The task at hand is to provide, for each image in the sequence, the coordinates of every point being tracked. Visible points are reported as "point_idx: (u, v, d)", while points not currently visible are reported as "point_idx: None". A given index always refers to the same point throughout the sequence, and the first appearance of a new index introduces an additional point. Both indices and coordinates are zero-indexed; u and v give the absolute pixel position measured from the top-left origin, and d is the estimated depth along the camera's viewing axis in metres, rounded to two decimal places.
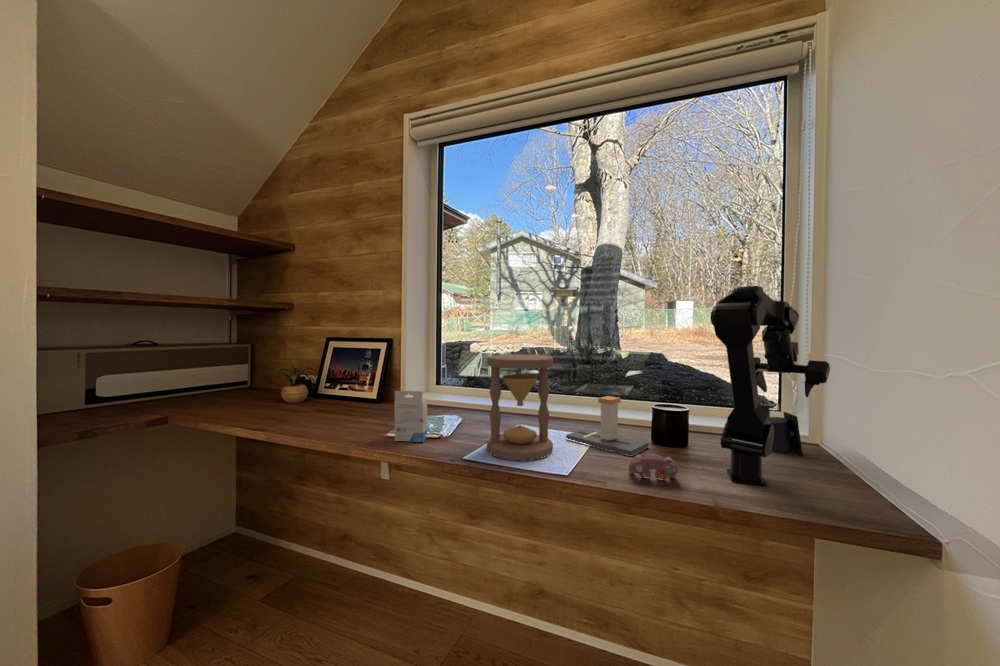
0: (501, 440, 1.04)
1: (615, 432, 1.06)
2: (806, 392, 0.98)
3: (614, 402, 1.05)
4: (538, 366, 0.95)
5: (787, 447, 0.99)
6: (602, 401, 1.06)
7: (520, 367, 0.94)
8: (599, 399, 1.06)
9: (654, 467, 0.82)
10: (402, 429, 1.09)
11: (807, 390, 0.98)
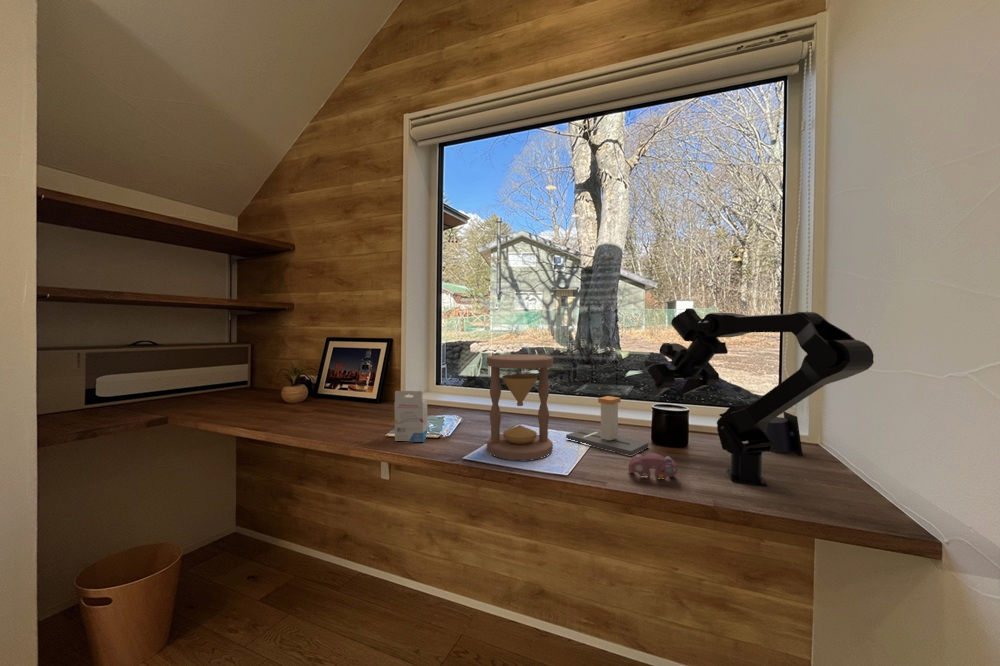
0: (501, 440, 1.04)
1: (615, 432, 1.06)
2: (690, 391, 1.05)
3: (614, 402, 1.05)
4: (538, 366, 0.95)
5: (787, 447, 0.99)
6: (602, 401, 1.06)
7: (520, 367, 0.94)
8: (599, 399, 1.06)
9: (654, 466, 0.82)
10: (402, 429, 1.09)
11: (692, 390, 1.04)
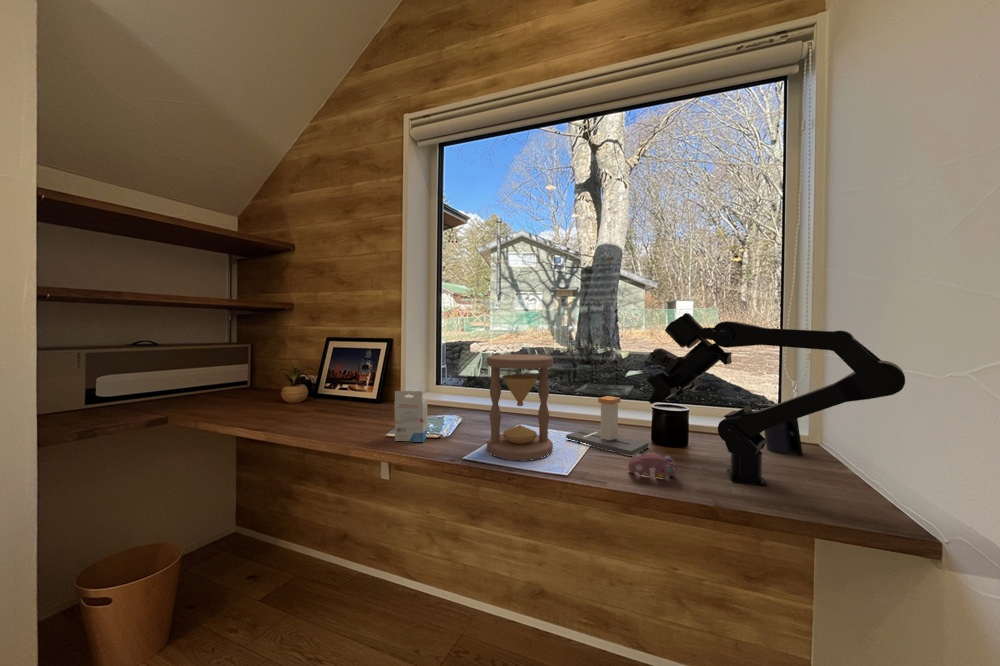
0: (501, 440, 1.04)
1: (615, 432, 1.06)
2: None
3: (614, 402, 1.05)
4: (538, 366, 0.95)
5: (787, 447, 0.99)
6: (602, 401, 1.06)
7: (520, 367, 0.94)
8: (599, 399, 1.06)
9: (653, 466, 0.83)
10: (402, 429, 1.09)
11: None
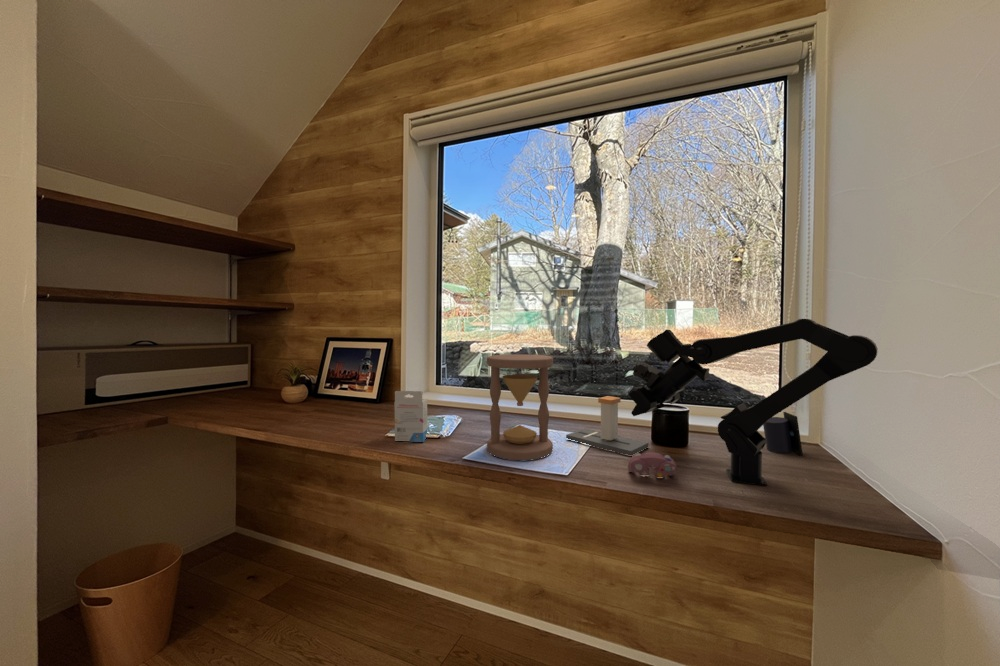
0: (501, 440, 1.04)
1: (615, 432, 1.06)
2: None
3: (614, 402, 1.05)
4: (538, 366, 0.95)
5: (787, 447, 0.99)
6: (602, 401, 1.06)
7: (520, 367, 0.94)
8: (599, 399, 1.06)
9: (653, 465, 0.83)
10: (402, 429, 1.09)
11: None
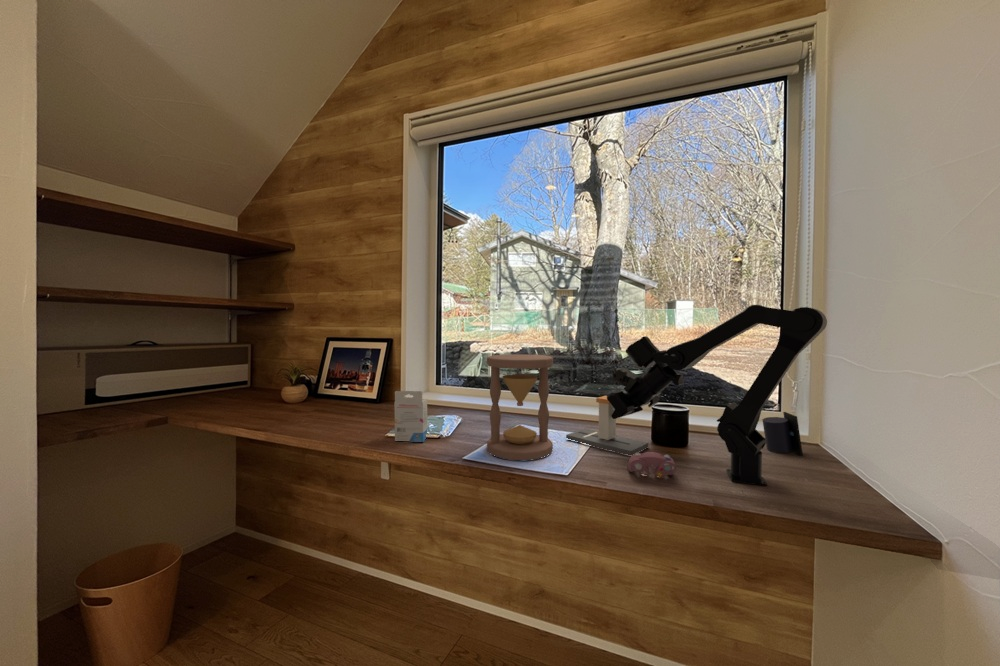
0: (501, 440, 1.04)
1: (613, 432, 1.07)
2: None
3: None
4: (538, 366, 0.95)
5: (787, 447, 0.99)
6: (600, 401, 1.06)
7: (520, 367, 0.94)
8: (597, 399, 1.07)
9: (653, 465, 0.83)
10: (402, 429, 1.09)
11: None
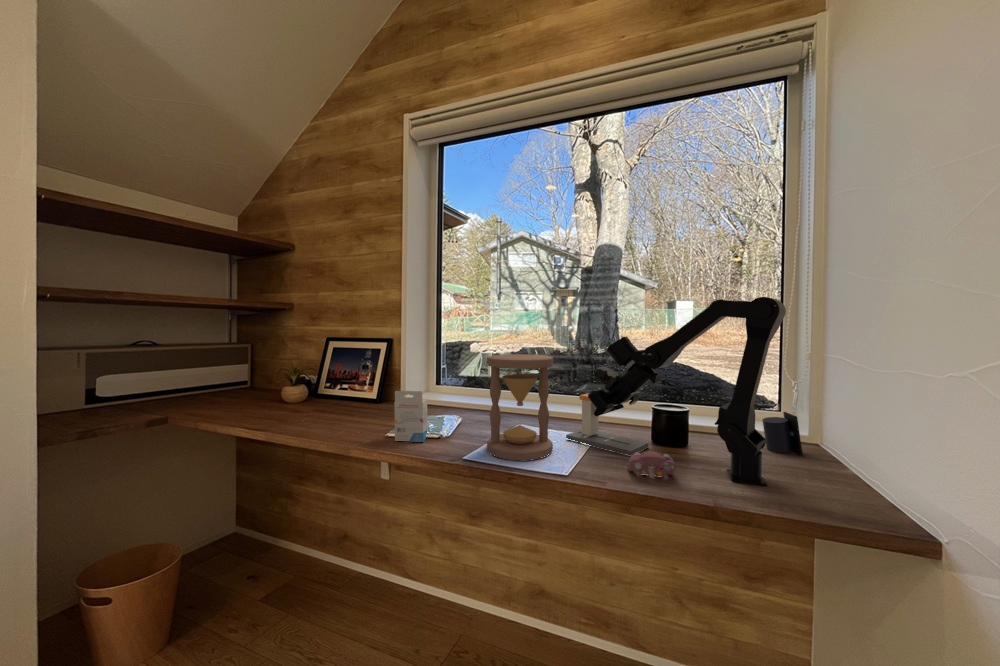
0: (501, 440, 1.04)
1: (596, 428, 1.11)
2: None
3: None
4: (538, 366, 0.95)
5: (787, 447, 0.99)
6: (583, 398, 1.10)
7: (520, 367, 0.94)
8: (580, 396, 1.11)
9: (652, 464, 0.83)
10: (402, 429, 1.09)
11: None
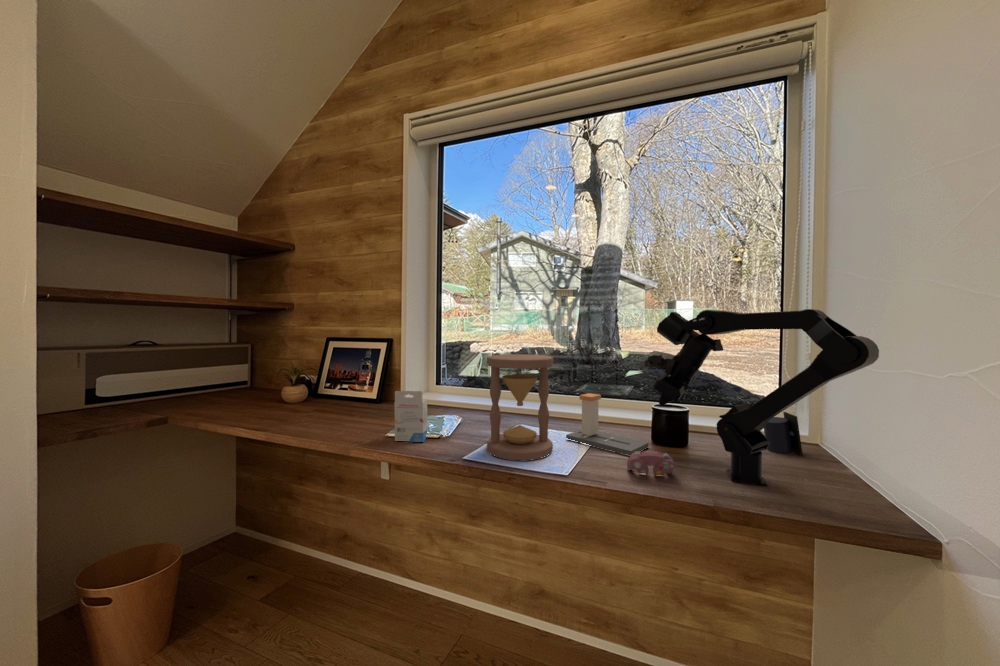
0: (501, 440, 1.04)
1: (596, 428, 1.11)
2: None
3: (594, 399, 1.09)
4: (538, 366, 0.95)
5: (787, 447, 0.99)
6: (583, 398, 1.10)
7: (520, 367, 0.94)
8: (580, 396, 1.11)
9: (652, 463, 0.84)
10: (402, 429, 1.09)
11: None
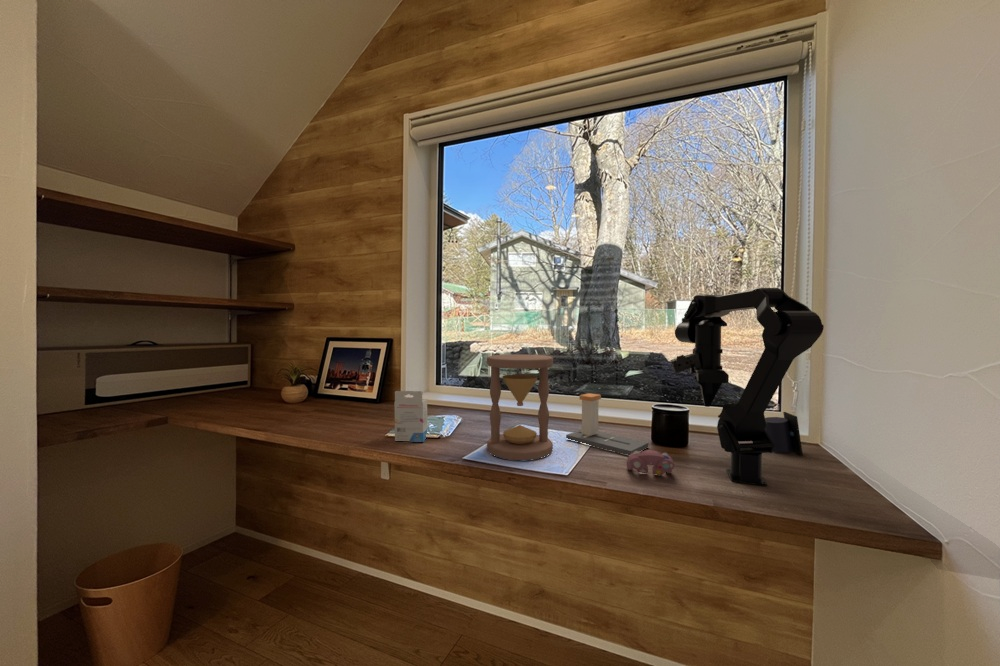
0: (501, 440, 1.04)
1: (596, 428, 1.11)
2: None
3: (594, 399, 1.09)
4: (538, 366, 0.95)
5: (787, 447, 0.99)
6: (583, 398, 1.10)
7: (520, 367, 0.94)
8: (580, 396, 1.11)
9: (651, 463, 0.84)
10: (402, 429, 1.09)
11: None
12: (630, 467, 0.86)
